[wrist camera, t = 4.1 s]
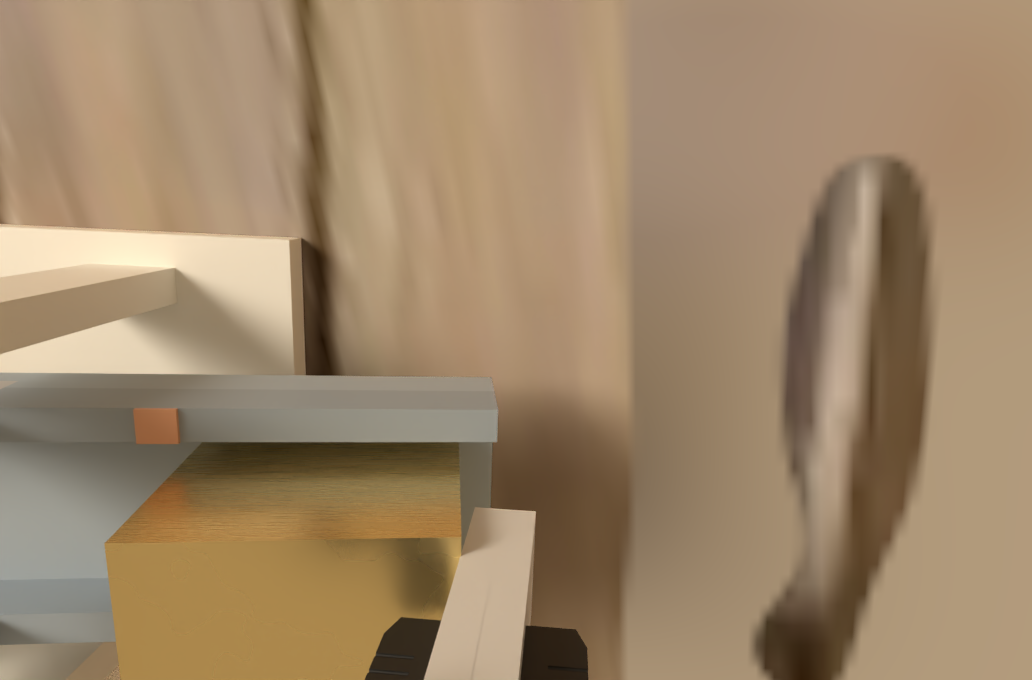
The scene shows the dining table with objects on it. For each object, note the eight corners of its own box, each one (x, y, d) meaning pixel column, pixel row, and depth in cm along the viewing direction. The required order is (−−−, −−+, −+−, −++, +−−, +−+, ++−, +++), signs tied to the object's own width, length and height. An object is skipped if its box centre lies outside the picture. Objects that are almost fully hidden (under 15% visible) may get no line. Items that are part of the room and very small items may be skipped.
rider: (205, 439, 18) (104, 543, 13) (458, 438, 19) (461, 537, 14) (215, 561, 19) (123, 707, 14) (456, 556, 20) (458, 693, 15)
